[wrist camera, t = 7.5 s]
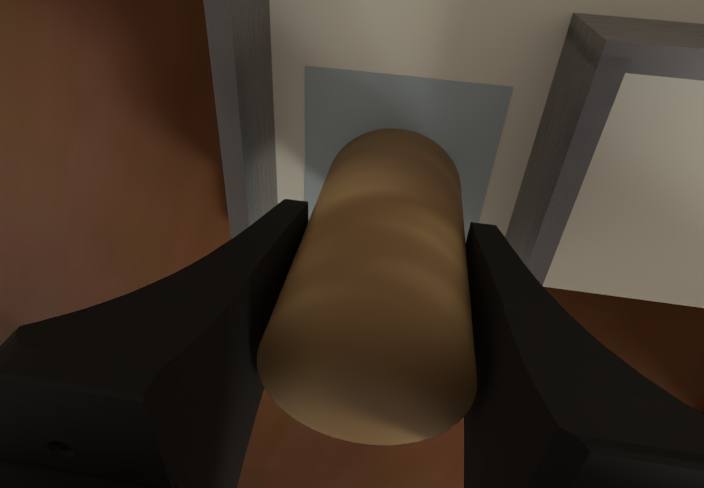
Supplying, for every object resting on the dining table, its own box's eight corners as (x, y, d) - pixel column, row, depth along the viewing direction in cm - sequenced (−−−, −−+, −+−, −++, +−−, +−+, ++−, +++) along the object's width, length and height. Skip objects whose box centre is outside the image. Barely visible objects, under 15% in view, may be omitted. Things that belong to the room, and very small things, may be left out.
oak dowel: (473, 137, 13) (502, 319, 7) (447, 253, 15) (454, 459, 10) (328, 120, 13) (249, 283, 8) (325, 237, 16) (262, 427, 10)
